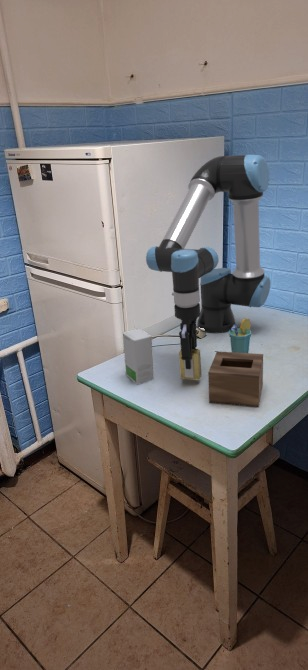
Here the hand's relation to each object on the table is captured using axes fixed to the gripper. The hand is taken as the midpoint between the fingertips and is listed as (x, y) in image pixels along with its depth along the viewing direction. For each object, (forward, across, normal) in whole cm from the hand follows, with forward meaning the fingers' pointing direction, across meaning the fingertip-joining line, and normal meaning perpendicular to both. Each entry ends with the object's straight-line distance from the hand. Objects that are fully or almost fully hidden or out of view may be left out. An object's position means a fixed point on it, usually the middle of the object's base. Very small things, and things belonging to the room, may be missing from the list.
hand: (190, 373), depth 147 cm
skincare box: (+3, 0, -17) cm, 17 cm away
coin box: (+3, +4, +15) cm, 16 cm away
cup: (+4, -16, +13) cm, 21 cm away
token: (+1, 0, 0) cm, 1 cm away
